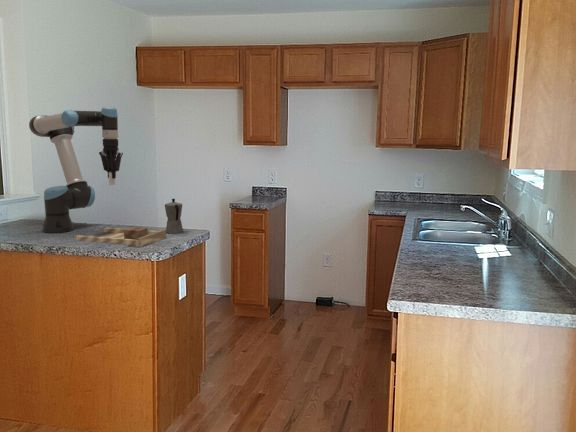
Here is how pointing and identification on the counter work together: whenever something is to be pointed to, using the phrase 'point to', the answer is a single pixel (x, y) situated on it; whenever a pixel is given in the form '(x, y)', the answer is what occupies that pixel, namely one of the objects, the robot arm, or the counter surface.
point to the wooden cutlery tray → (118, 237)
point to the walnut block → (135, 233)
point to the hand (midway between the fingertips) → (112, 184)
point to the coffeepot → (173, 217)
